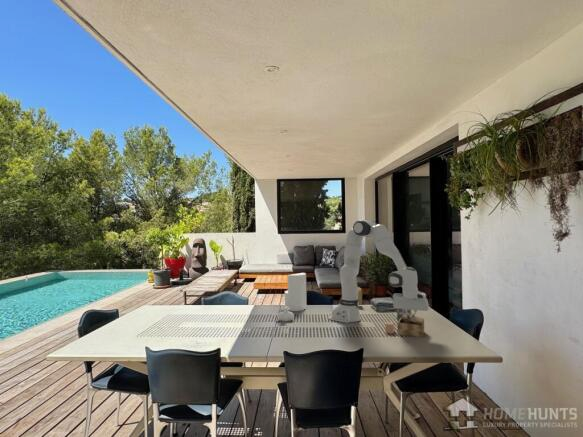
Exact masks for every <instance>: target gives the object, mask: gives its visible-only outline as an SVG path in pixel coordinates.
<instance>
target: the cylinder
mask: <svg viewBox="0 0 583 437" xmlns="http://www.w3.org/2000/svg"><path fill="white" fill-rule="evenodd" d="M284 306H288V307H289V308H290V309H289V310H288V311H289V312H291V311H292V312H299V311H300V310H301V311H304V309H305V310H306V309H307V306H308V305H307V273H306V272H300V273H299V272H298V273H292V274H288V275H287V290H284Z"/></svg>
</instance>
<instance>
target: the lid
mask: <svg viewBox="0 0 583 437" xmlns="http://www.w3.org/2000/svg"><path fill="white" fill-rule="evenodd" d="M398 318H402V319H405V320H408V321H412V322H415V323H418V324H423V321H424V322H425V318H422V317H419V316H417V315H415V317H412V315H410V317H407V314H406V313H402V312H401V313H400V314H399V316H398Z"/></svg>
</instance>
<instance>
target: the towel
mask: <svg viewBox="0 0 583 437" xmlns="http://www.w3.org/2000/svg"><path fill="white" fill-rule="evenodd" d="M393 303H394V300H393V297H391V296H389V297H373V298H372V299H370V306H371V305H372V306H371V307H372V309H374V310H375V311H377V312H387V311H386V310H390V311H397V308H394V307H393Z"/></svg>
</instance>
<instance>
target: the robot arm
mask: <svg viewBox="0 0 583 437" xmlns="http://www.w3.org/2000/svg"><path fill="white" fill-rule="evenodd" d="M352 225H353V226H352V228H350V229H349V230H348V232H347V235H346V238H345V244H344V252H343V257H344V258H343V265H342V266H341V267H340V269H339V277H340V284H341V297H340V299H339V301H338V302H339V304H337V305H336V306H335V307H334V308H333V309H332V310H331V314H330V315H329V316H328V318H327V319H328V320H330V321H335V322H342V323H346V324H347V323H356V322H359V321H361V318H362V317H361V315H360V310H359V309H360V307H359V299H358V287H359V286H358V280H357V276H358V275H359V273H360V264H361V262H360V260H361V258H360V257H361V250H362V243H363V238H365V237H366V238H368V237H369V238H370V237H371V238H372V239H373V240H372V241H373V242H374V246H375V248H376V250H377V251H378V253H379V254H382V255H384V256H386V257H389V258H390V259H392V261H393V262H394V265H395V266H396V269H397V270H396V271H392V272H390V273H389V275H388V277H387V279H388V283H389V285H390V286H391V287H394V288H399V287H401V288H402V293H400V292H399V293H397V292H396V293H393V294H392V300H393V301H394V303H393V307H394V308H397V309H405V312H406V314H407V317H410V313H408V312H407V309H409V310H411V311H413V312H414V313H411V314H412V317H415V316H416V313H417V311H422V312H423V311H424V312H428V311H429V307H430V306H429V301H428V299H427V294H426V293H425V292H422V291H419V288H418V283H419V282H418V281H419V280H418V272H417V270H416V268H414V267H413V266H412V267H411V266H408V265H407V263H406V261H405V260H404V257H403V256H402V253H401V252H400V250H399V249H398V248H397V246H396V245H395V243H394V241H393V240H392V236H391V234H390V233H389V230H388V229H387V227H386V225H384V224H379V223H377V222H376V221H374V220H368V219H364V220H363V219H359V220H357V221H355V222H354V224H352Z"/></svg>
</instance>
